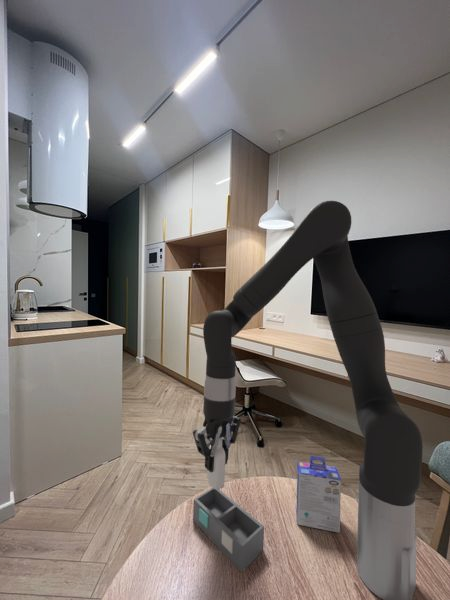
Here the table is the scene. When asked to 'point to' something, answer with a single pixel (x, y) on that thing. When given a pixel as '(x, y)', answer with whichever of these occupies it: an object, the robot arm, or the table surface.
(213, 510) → the block
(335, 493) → the ink cartridge box
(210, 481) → the eye dropper bottle
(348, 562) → the table surface
